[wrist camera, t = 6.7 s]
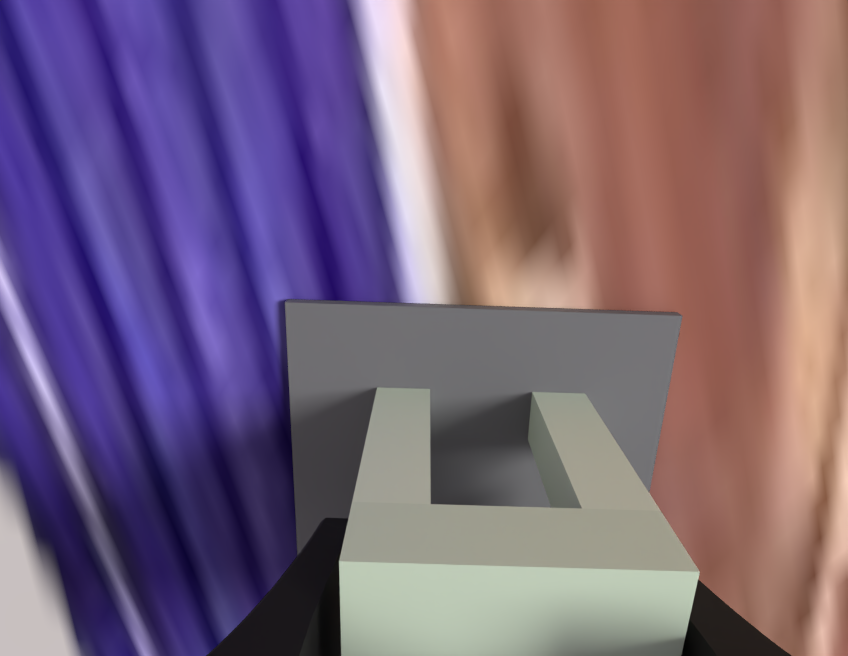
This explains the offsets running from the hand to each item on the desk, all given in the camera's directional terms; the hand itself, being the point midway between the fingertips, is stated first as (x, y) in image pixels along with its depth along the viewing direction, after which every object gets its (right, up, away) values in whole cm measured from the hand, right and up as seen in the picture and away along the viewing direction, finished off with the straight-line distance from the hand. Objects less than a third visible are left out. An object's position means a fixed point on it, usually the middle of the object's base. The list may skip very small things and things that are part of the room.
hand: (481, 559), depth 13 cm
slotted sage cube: (0, +1, +3) cm, 3 cm away
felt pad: (0, +1, +3) cm, 3 cm away
